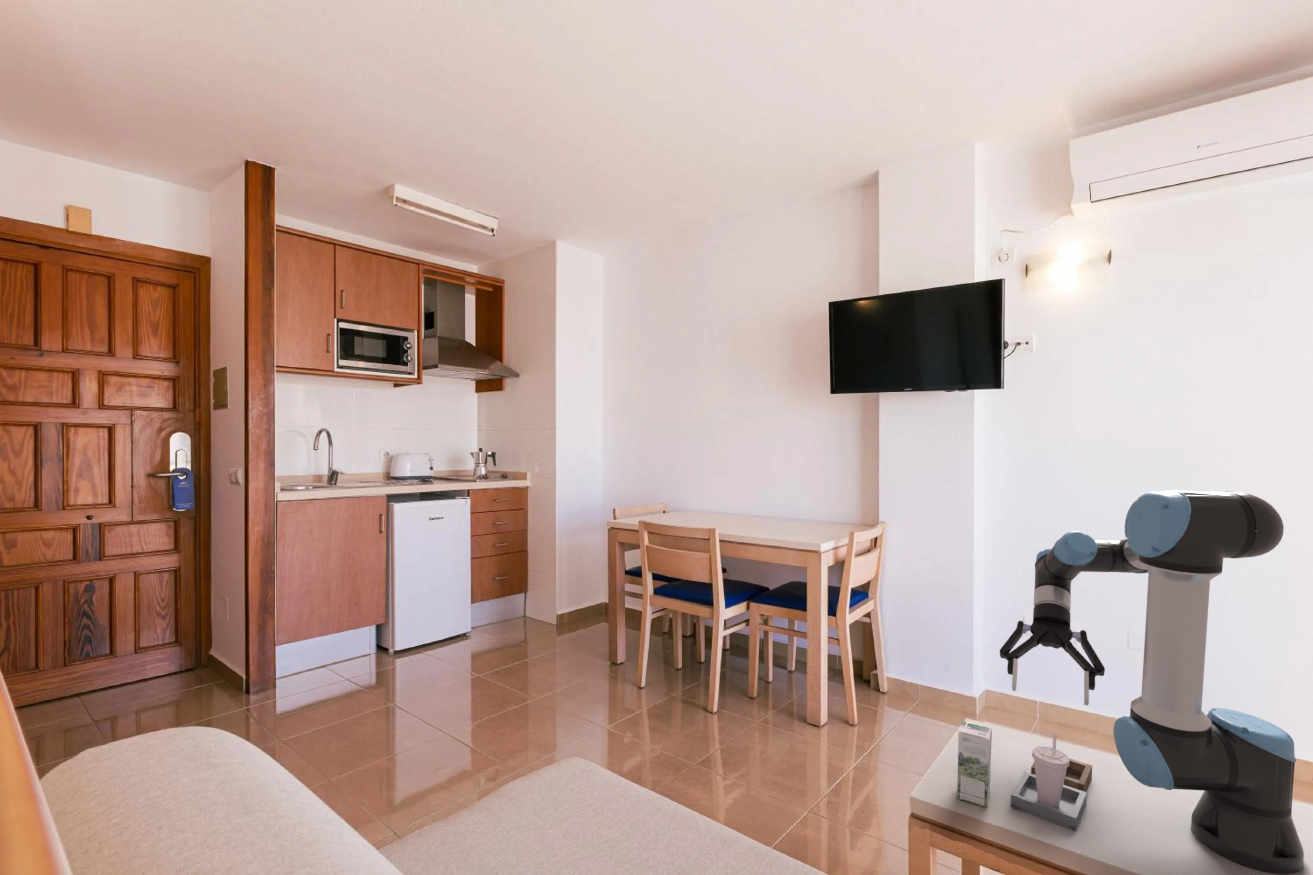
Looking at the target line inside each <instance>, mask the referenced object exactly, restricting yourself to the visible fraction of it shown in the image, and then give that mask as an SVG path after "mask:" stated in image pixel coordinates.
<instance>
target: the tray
mask: <svg viewBox="0 0 1313 875" xmlns="http://www.w3.org/2000/svg"><path fill="white" fill-rule="evenodd" d="M1087 792H1088V791H1087ZM1087 792H1084V791H1081V790H1078V789H1075V788H1072V787H1069V786H1066V785H1063V789H1062V794H1061V799H1060V804H1059V806H1058V807H1051V806H1048V805H1046V804H1043V803H1040V802H1039V800H1038V796H1037V785H1036V775H1034V774H1031V772H1027V771H1024V772H1023V774H1022V776H1021V777H1020V779H1019V780H1018V783H1017V784H1016V786H1015V788H1014V789H1013V790H1012V793H1011V795H1010V808H1013V809H1015V810H1018V811H1020V812H1024V813H1025V814H1028V815H1031V816H1035V817H1037V818H1039V819H1042V820H1044V821H1047V822H1050V823H1052V824H1056V825H1058V826H1060V827H1064V828H1066V829H1068V830H1071V831H1073V832H1076V831H1077V829H1078V827H1079V825H1080V824H1079V823H1080V821H1081V818H1082V816H1083V814H1084V811H1085V809H1086V806H1087V797H1088V796H1087V795H1088V794H1087Z"/></svg>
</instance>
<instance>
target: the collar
mask: <svg viewBox="0 0 1313 875" xmlns="http://www.w3.org/2000/svg"><path fill="white" fill-rule="evenodd" d="M1068 758H1069V757H1068ZM1030 773H1031V774H1034V775H1036V774H1035V764H1034V762H1033V764H1032V765H1031V767H1030ZM1066 774H1069V775H1071V776H1074V777H1077V778H1079V780H1078V779H1075V778H1072V777H1069V776H1066V775H1065V780H1064V785H1066V786H1069V787H1072V788H1075V789H1078V790H1081V791H1084V792H1088V788H1089V786H1090V784H1091V782H1092V779H1093V765H1092V764H1089V763H1085V762H1082V761H1079V760H1075V759H1073V758H1069V766H1068V767H1067V770H1066Z"/></svg>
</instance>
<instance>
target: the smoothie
mask: <svg viewBox="0 0 1313 875" xmlns="http://www.w3.org/2000/svg"><path fill="white" fill-rule="evenodd" d="M1031 756H1032V758H1033V760H1034V761H1033V763H1034V764H1035V774H1036V785H1037V796H1038V800H1039V802H1040V803H1043V804H1046V805H1048V806H1051V807H1058V806H1059V804H1060V799H1061V794H1062V789H1063V785H1064V780H1065V776H1066V774H1067V773H1066V770H1067V767H1068V766H1069V756H1068V755H1067V754H1066V753H1065V752H1063V751H1060V750H1058V749H1057V733H1054V732H1053V734H1052V747H1049V746H1036V747H1034V748H1033V749H1032V752H1031Z"/></svg>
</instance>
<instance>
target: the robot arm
mask: <svg viewBox="0 0 1313 875" xmlns="http://www.w3.org/2000/svg"><path fill="white" fill-rule="evenodd" d="M1125 516H1126V517H1125V519H1124V520H1125V521H1124V535H1125V536H1124V537H1125V539H1096V538H1095V539H1094V538H1093V537H1091V535H1089V534H1087V533H1084V532H1081V531H1079V530H1072V531H1071V530H1070V531H1067V532H1066V533H1064V534H1063V535H1062V536H1061V537H1060V538H1059V539H1057V540H1056V542H1055V543H1054V544H1053V547H1051V548H1045V549H1044V550H1040V551H1039V552H1038V553H1037V555H1036V558H1035V559H1036V560H1035V563H1034V569H1035V571H1034V591H1033V592H1034V594H1033V614H1032V623H1031V624H1027V623H1024V621H1023V620H1018V622H1017V624H1016V628H1015V630H1013V632H1012V634H1011V635H1010V636H1009V637H1008V638H1007V640H1006V642H1005V643H1003V645H1002V646H1001V648H1000V649H999V657H1000V658H1001V659H1005V660H1006V661H1007V667H1006V668H1007V671H1006V672H1007V674H1008V675H1012V681H1011V689H1012V690H1011V691H1013V692H1017V681H1018V680H1017V679H1018V666H1019V664H1018V660H1019V659H1020V658H1022V657H1024V655H1026V654H1027V653H1028V652H1029V651H1031V650H1032V649H1033V648H1036V647H1038V646H1039V645H1041V646H1042V647H1045V648H1049V647H1050V648H1054V649H1063V650H1064V651H1065V653H1067V654H1068V655H1069V656H1070V657H1071V658H1072V659H1073V660H1074V662H1076V664H1078V666H1079V667H1080V668H1081V669H1082V670H1083V671H1084V674H1083V676H1084V677H1083V705H1084V706H1089V703H1090V694H1089V693H1090V691H1094V690H1095V688H1096V677H1097V676H1099V677H1103V676H1104V675H1105V672H1106V670H1105V669H1106V668H1105V666H1104V664H1103V663H1102V661H1101V659H1100V658H1099V656H1098V655H1097V653H1096V651H1095V650H1094V648H1093V647H1092V645H1091V643H1090V641H1089V639H1088V635H1087V634H1088V633H1087V631H1086V630H1085V629H1084V630H1083V629H1082V630H1080V631H1072V630H1071V629H1072V628H1071V606H1072V605H1071V604H1072V602H1071V598H1072V597H1071V596H1072V595H1071V591H1072V590H1071V588H1072V581H1073V580H1074V579H1075V578H1077V576H1078V575H1079V574H1080V573H1081V572H1087V573H1088V572H1090V573H1128V574H1131V573H1133V574H1148V577H1147V594H1146V612H1145V613H1146V614H1145V630H1144V647H1143V661H1142V662H1143V663H1142V679H1141V680H1142V682H1141V695H1140V696H1138V697H1137V698H1134V699H1133V700H1132V701H1131V703H1130V710H1129V711H1130V712H1129V713H1130V714H1129V716H1124V715H1123V716H1121V717H1118V718H1117V719H1116V720H1115V722H1114V724H1113V740H1114V745H1115V747H1116V751H1117V753H1118V755H1119V758H1120V759H1121V762H1122V763H1123V765H1124V767H1125V768H1126V770H1127V772H1128V773H1129V774H1130V775H1131V776H1132V777H1133V779H1135V780H1136V781H1137V782H1139V784H1142V785H1143V786H1146V787H1149V788H1157V789H1164V790H1166V791H1172V790H1185V791H1187V790H1188V791H1190V790H1191V791H1203V793H1202V794H1201V796H1200V798H1199V800H1198V802H1197V803H1196V806H1195V807H1194V809H1193V811H1192V813H1191V820H1190V828H1191V831H1192V833H1193V835H1194V836H1195V837H1196V838H1197V839H1198V840H1199V841H1200V842H1201V843H1202V844H1204V846H1206V847H1208V848H1209V849H1211V850H1212V851H1214V852H1215V853H1217V854H1219V855H1221V856H1222V857H1224V858H1227V859H1229V860H1230V861H1233V862H1236V863H1238V864H1240V865H1244V866H1246V867H1249V868H1252V869H1256V870H1260V871H1263V872H1269V873H1274V874H1292V873H1297V872H1299V871H1301V870H1302V869H1303V868H1304V856H1305V852H1304V848H1303V845H1302V842H1301V840H1300V837H1299V834H1298V831H1297V828H1296V826H1295V823H1294V820H1293V818H1292V816H1293V814H1292V811H1293V789H1294V777H1295V776H1294V775H1295V764H1296V762H1297V759H1296V755H1295V742H1294V739H1293V738H1292V736H1291V735H1290V734H1289V733H1288V732H1287V731H1286V730H1284V729H1282V728H1281V727H1279V726H1277V725H1275V724H1273V723H1271V722H1269V721H1267V720H1265V719H1262V718H1260V717H1257V716H1254V715H1251V714H1249V713H1245V712H1242V711H1238V710H1234V709H1229V708H1222V707H1215V708H1214V707H1213V708H1211V709H1210V710H1208V713H1207V714H1206V713H1205V712H1204V711H1202V706H1203V692H1204V677H1205V662H1206V650H1207V649H1206V646H1207V633H1208V632H1207V631H1208V619H1209V617H1208V616H1209V603H1210V601H1209V600H1210V599H1209V598H1210V587H1211V586H1210V585H1211V584H1210V583H1211V581H1212V580H1213V579H1214V578H1216V577H1218V576H1220V575H1221V574H1223V567H1224V566H1223V565H1224V559H1243V558H1255V557H1259V556H1263V555H1265V554H1267V553H1269V552H1271V551H1273V550H1274V549H1275V548H1276V547H1277V546H1278V545H1279V544H1280V542H1281V541H1282V538H1283V536H1284V530H1285V528H1284V523H1283V522H1284V521H1283V519H1282V517H1281V515H1280V513H1279V512H1278V511H1277V510H1276V509H1275V508H1274V506H1273V505H1271V504H1270V503H1269V502H1267V501H1266V500H1264V499H1262V498H1261V497H1259V496H1256V495H1253V494H1250V493H1247V492H1241V491H1205V490H1204V491H1202V490H1200V491H1199V490H1173V489H1169V490H1161V491H1160V490H1158V491H1151V492H1149V491H1148V492H1146V493H1144V494H1142V495H1140V496H1139V497H1138V498H1137V499H1136V500H1134V501H1133V502H1132V504H1131V505H1130V507H1129V508H1128V511H1127V514H1126V515H1125ZM1028 631H1029V632H1030V633H1031V636H1030V637H1029V638H1028V639H1026V640H1025V641H1024V642H1022V643H1021V644H1020V645H1018V646H1017V647H1016V648H1014V647H1015V645H1017V643H1018V642H1019V641H1020V639H1021V638H1022V636H1023V635H1024V634H1026V633H1027V632H1028ZM1072 639H1075V640H1076V642H1078V643H1080V645H1081V647H1082V650H1083V651H1084V653H1085V654H1086V657H1088V659H1089V661H1090V662H1089V661H1088V660H1087V659H1086V658H1085V657H1084V656H1083V654H1082V653H1080V651H1079V650H1078V649H1077V648H1076V647H1075V646H1074V645H1073V643H1072V642H1071V640H1072ZM1013 648H1014V649H1013Z"/></svg>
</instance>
